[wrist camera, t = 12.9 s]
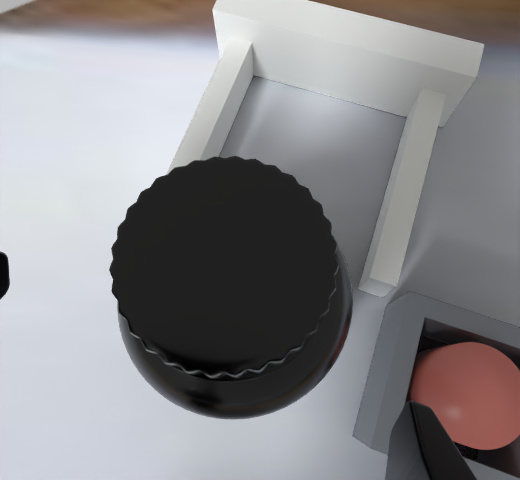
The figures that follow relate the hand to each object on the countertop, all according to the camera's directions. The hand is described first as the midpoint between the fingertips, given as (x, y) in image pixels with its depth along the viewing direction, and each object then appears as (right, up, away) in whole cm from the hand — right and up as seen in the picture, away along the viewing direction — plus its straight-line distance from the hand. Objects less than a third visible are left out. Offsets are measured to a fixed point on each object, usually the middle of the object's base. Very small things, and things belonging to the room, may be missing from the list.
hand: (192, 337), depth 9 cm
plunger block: (+9, -5, +10) cm, 14 cm away
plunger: (+9, -5, +10) cm, 14 cm away
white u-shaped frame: (+4, +6, +14) cm, 16 cm away
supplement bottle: (+1, -2, +11) cm, 12 cm away
